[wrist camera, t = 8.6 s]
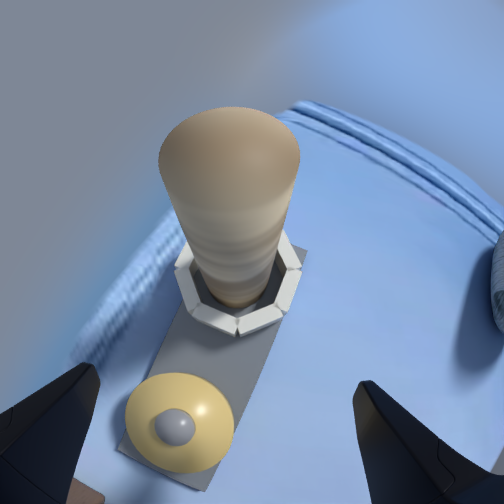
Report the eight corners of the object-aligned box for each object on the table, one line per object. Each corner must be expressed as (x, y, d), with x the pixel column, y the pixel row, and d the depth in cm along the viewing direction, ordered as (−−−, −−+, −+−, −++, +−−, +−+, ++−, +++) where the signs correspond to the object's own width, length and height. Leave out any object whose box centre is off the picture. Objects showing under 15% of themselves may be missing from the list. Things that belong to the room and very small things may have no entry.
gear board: (206, 488, 15) (199, 508, 11) (110, 440, 16) (89, 450, 12) (305, 254, 22) (316, 234, 19) (212, 219, 23) (208, 194, 20)
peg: (264, 311, 19) (298, 218, 7) (202, 304, 19) (140, 202, 7) (270, 253, 21) (300, 113, 9) (211, 246, 21) (179, 105, 9)
